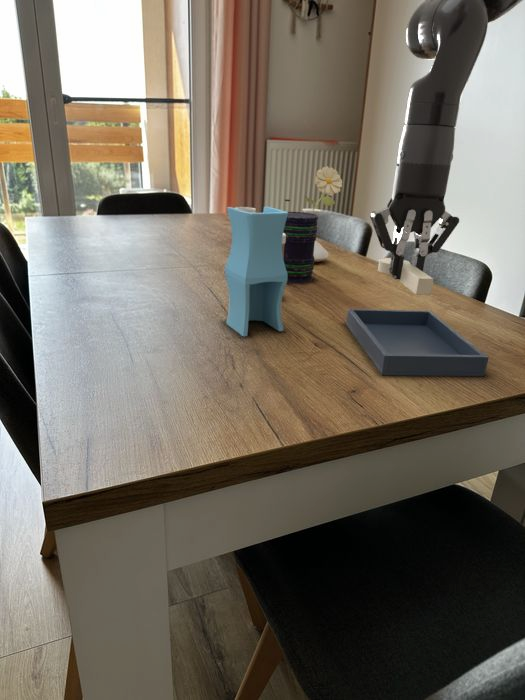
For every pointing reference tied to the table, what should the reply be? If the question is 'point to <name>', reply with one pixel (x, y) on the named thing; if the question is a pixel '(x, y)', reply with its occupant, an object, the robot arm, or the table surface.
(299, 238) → the storage jar
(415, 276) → the cream round-headed paddle
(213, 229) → the table surface
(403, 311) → the tray
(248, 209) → the drinking glass
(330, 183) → the flower in vase
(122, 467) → the table surface
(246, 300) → the vase
